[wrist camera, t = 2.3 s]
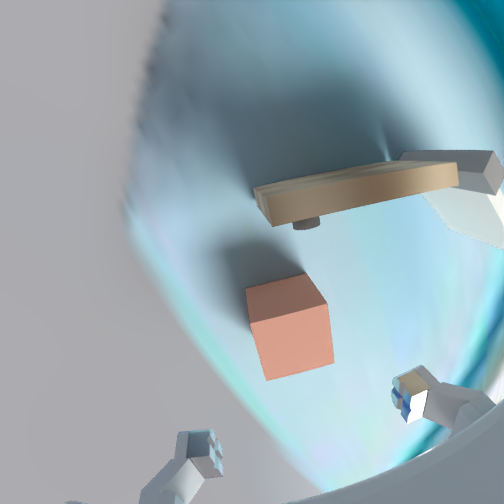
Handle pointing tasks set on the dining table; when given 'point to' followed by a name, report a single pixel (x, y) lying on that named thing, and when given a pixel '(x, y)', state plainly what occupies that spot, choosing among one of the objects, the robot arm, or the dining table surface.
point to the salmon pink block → (290, 326)
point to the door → (349, 189)
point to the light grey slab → (469, 193)
